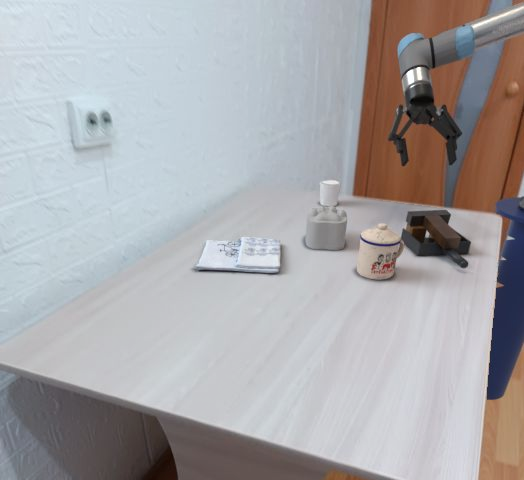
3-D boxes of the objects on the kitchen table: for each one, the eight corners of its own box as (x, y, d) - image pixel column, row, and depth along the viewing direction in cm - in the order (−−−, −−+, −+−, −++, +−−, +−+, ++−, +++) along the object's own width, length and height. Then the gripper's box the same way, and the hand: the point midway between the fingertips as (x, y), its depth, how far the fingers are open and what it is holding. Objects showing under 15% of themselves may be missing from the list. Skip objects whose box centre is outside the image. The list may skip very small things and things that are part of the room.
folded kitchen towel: (279, 274, 111) (280, 266, 110) (193, 271, 112) (192, 262, 110) (281, 244, 127) (281, 236, 126) (205, 241, 128) (205, 233, 126)
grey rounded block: (305, 248, 125) (308, 216, 120) (304, 231, 136) (307, 200, 131) (345, 250, 124) (349, 217, 120) (341, 233, 135) (345, 202, 130)
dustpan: (400, 240, 132) (402, 228, 130) (447, 238, 133) (450, 226, 132) (436, 274, 113) (440, 261, 111) (490, 271, 115) (494, 258, 113)
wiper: (446, 209, 130) (474, 237, 118) (443, 219, 132) (471, 247, 120) (407, 211, 128) (432, 239, 116) (405, 221, 130) (429, 249, 118)
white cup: (325, 207, 155) (327, 185, 151) (314, 202, 160) (315, 180, 156) (343, 205, 157) (345, 183, 153) (331, 199, 162) (333, 178, 158)
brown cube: (420, 223, 131) (427, 228, 127) (418, 237, 133) (424, 242, 129) (407, 223, 130) (412, 228, 127) (404, 237, 132) (410, 242, 129)
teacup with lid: (371, 283, 108) (379, 233, 102) (347, 268, 115) (353, 220, 108) (412, 274, 113) (422, 225, 106) (386, 260, 119) (394, 214, 113)
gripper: (453, 100, 137) (464, 169, 134) (369, 100, 133) (379, 171, 130) (467, 81, 129) (480, 154, 126) (379, 81, 126) (390, 156, 123)
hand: (429, 163), depth 128 cm, fingers open, 13 cm apart
